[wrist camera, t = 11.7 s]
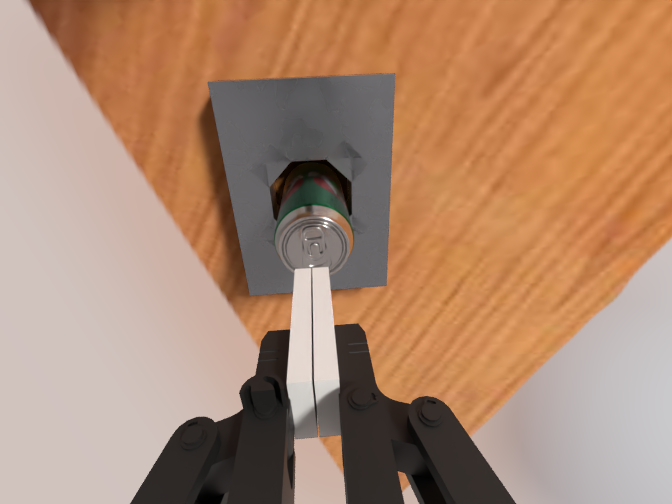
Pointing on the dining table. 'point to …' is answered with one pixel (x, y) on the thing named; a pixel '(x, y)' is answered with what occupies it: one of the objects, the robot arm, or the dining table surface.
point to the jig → (303, 145)
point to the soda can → (313, 220)
